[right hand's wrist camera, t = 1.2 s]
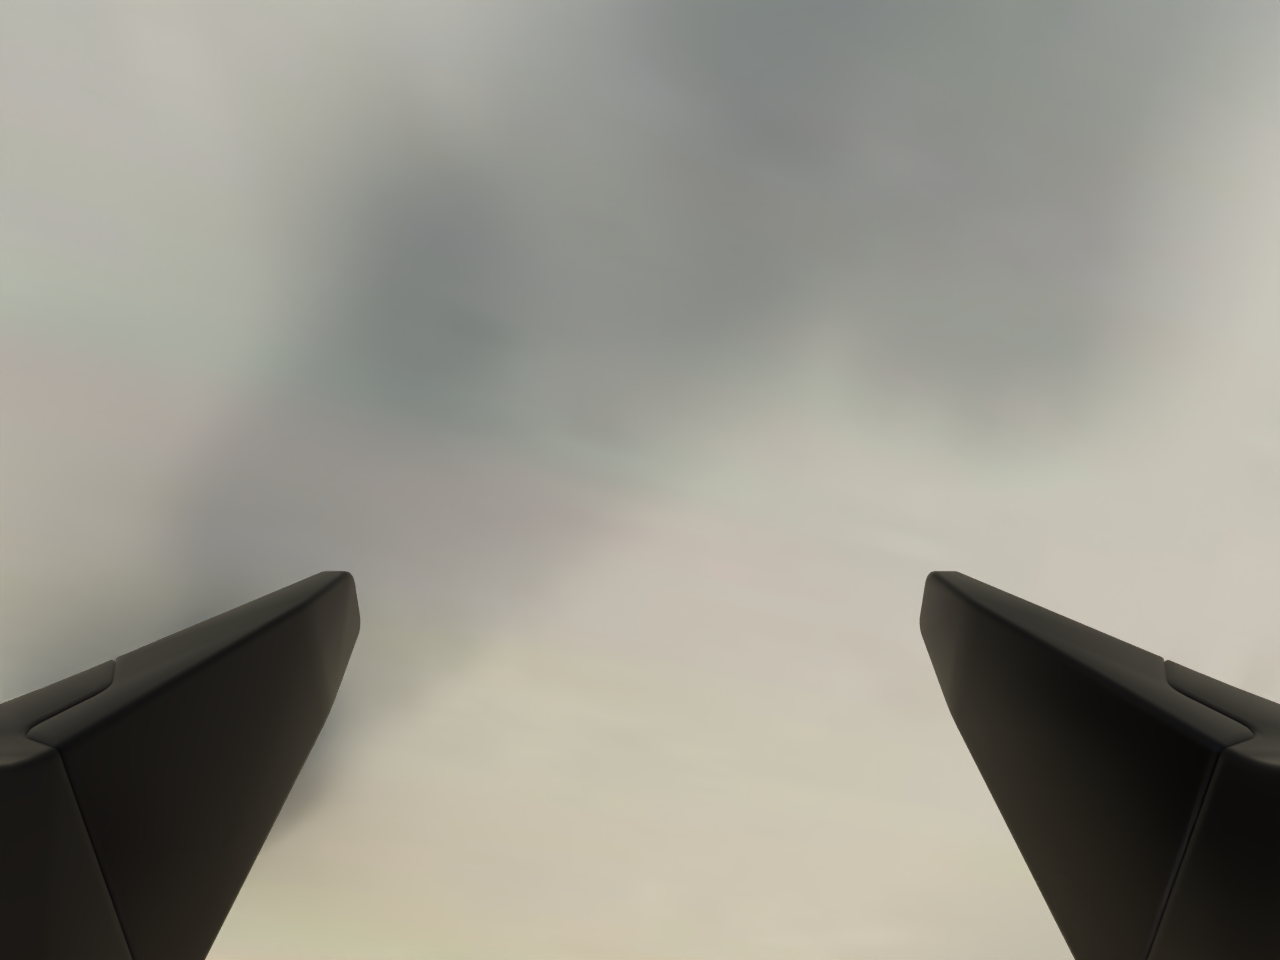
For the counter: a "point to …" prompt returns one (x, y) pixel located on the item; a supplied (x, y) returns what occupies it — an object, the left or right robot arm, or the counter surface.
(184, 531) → the counter surface
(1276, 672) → the counter surface
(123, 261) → the counter surface
